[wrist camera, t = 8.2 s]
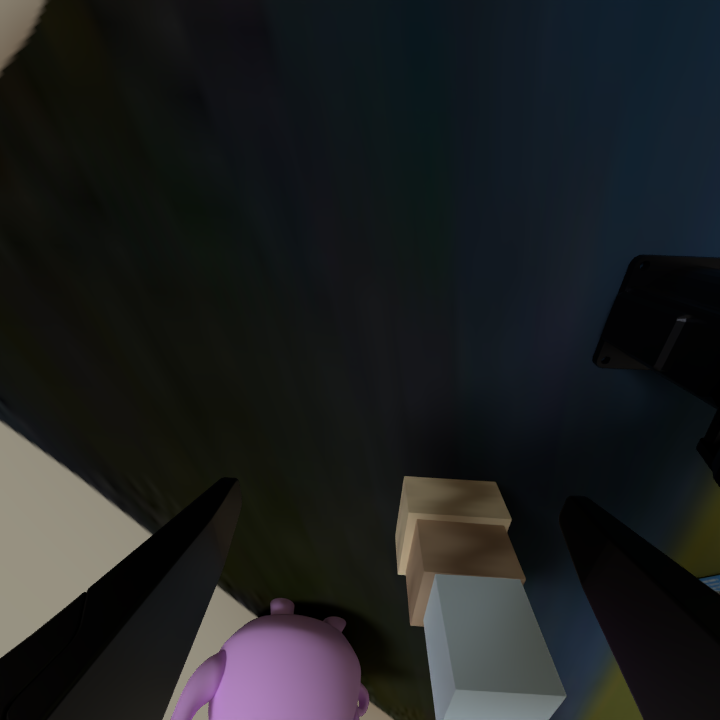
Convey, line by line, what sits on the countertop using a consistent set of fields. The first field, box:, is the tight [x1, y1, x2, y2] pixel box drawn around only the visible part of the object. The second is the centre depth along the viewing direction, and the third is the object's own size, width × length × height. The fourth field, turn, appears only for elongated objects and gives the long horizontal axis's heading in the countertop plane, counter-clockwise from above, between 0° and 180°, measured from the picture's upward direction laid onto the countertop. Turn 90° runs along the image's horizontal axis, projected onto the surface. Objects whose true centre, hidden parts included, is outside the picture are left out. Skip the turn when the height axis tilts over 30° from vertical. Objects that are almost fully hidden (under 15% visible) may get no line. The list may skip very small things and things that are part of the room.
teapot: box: [171, 598, 369, 720], centre depth 29 cm, size 20×14×12 cm
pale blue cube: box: [423, 574, 567, 720], centre depth 18 cm, size 5×5×5 cm
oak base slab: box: [395, 476, 512, 575], centre depth 25 cm, size 7×7×4 cm
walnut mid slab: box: [406, 519, 526, 626], centre depth 22 cm, size 6×6×4 cm
